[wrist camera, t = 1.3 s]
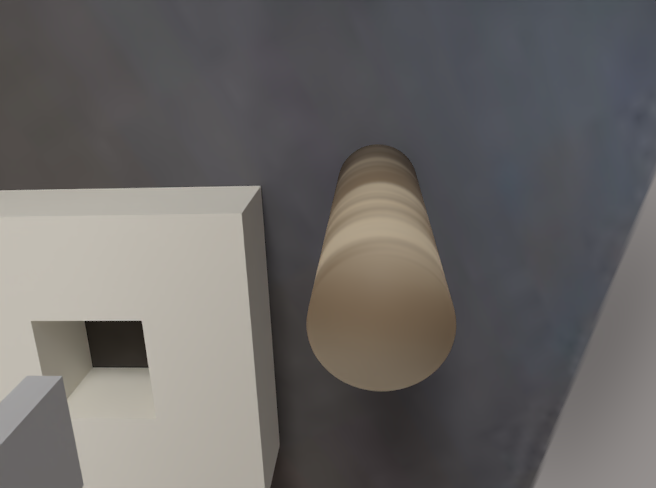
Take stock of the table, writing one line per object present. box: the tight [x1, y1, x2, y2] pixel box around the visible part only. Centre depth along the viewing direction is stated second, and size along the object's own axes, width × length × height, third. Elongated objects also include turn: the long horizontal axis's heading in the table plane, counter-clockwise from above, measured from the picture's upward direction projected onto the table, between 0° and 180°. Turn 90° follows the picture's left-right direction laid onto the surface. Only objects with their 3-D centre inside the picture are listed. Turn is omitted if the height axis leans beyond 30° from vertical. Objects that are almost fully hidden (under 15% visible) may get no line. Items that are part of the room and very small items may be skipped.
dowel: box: [307, 145, 456, 391], centre depth 24 cm, size 4×4×16 cm
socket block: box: [0, 186, 280, 488], centre depth 33 cm, size 16×16×5 cm
